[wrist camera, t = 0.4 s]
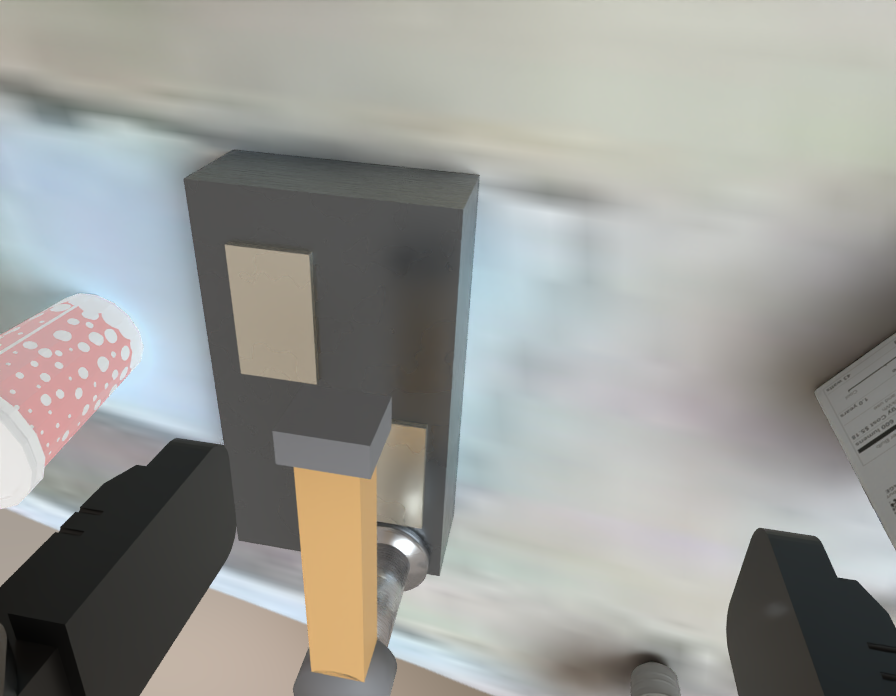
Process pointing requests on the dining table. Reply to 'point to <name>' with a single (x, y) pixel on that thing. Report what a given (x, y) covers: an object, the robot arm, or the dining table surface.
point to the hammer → (338, 535)
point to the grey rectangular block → (339, 332)
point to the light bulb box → (868, 425)
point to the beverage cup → (57, 382)
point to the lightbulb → (654, 680)
